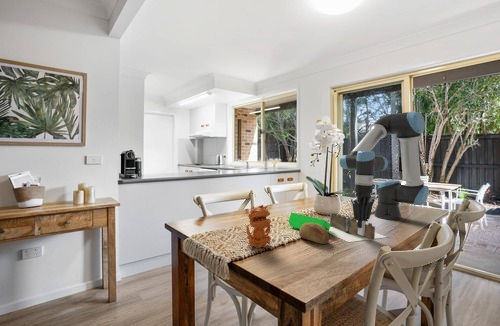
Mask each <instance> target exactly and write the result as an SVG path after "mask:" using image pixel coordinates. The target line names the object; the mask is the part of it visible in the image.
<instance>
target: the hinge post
mask: <svg viewBox="0 0 500 326" xmlns="http://www.w3.org/2000/svg"><path fill="white" fill-rule="evenodd" d="M345 217H346V229H345V233H350V221H351V218H350V217H349V216H345Z"/></svg>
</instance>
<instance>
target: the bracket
mask: <svg viewBox="0 0 500 326" xmlns="http://www.w3.org/2000/svg"><path fill="white" fill-rule="evenodd" d="M305 223H316V224H319V225H321V226H322V227H324V228H325V229H326V230H328V231H329V229H330V226H331V224H330V222H328V221H326V220H325V219H323V218H318V217H313V216H309V215H305V214H299V213H296V212H291V213H290V215H289V218H288V225H289V226H290V227H292V228H295V229H297V228H298V230H300V228H301V226H302V225H303V224H305Z"/></svg>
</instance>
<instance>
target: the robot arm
mask: <svg viewBox="0 0 500 326" xmlns="http://www.w3.org/2000/svg"><path fill="white" fill-rule="evenodd" d="M425 129H426V122H425V118H424V116H423V115H422V114H421V112H418V111H408V112H399V113H389V114H386V115H384V116H382V117H380V118H379V119H378V120H376V121H374V123H373V124H372V125H371V126H370V127H369V130H368V132H367V133H366V134H365V136H363V138H362V139H361V140H360V141H359V142H358V144H357V145H356V146H355V147H354V148H353V149H352V150H351V152H350V153H349V154H343V155H342V156H340V158H339V166H340V168H342V169H345V170H350V171H351V170H352V171H353V170H354V171H355V177H354V179H355V181H354V182H355V184H354V192H355V196H354V198H353V199H350V202H351V206H352V212H353V213H352V214H353V219H355V220H356V221H357V222H358V224H357V227H358V234H359V235H362V236H363V235H364V231H365V224H367V223H366V222H369V220H370V218H371V213H372V210H373V205H374V204H375V201H376V199H375V198H372V195H371V194H373V191H374V190H373V189H374V186H373V184H374V173H375V172H383V171H385V170H386V169H387V168H388V165H389V162H388V160H387V158H386V157H385V156H383V155H376V154H375V151H372V150H373V149H374V148H375V147H376V145H377V144H378V143H379V142H380V140H381V139H384V138H385V137H386V136H387V135H388V136H389V135H396V139H397V140H399V146H400V157H401V170H402V180H401V181H400V180H382V181H379V182H378V187H377V191H378V192H377V205H376V208H375V210H374V217H376V218H379V219H383V220H390V221H391V220H392V221H396V220H398V221H399V220H401V219H402V213H401V209H400V207H399V206H400V204H399V203H401V204H409V205H413V206H423V205H424V204H426V202H427V200H428V197H429V193H430V192H429V191H430V189H429V186H427V185H425V183H424V182H425V181H424V180H422V179H421V169H420V168H421V165H420V153H419V152H420V151H419V138H420V137H421V136H422V133H424V131H425Z"/></svg>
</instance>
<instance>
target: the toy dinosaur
mask: <svg viewBox="0 0 500 326" xmlns="http://www.w3.org/2000/svg"><path fill="white" fill-rule="evenodd" d="M270 215H271V212H270V211H269V209H268V205H266V206H264V205H263V204H261V205H259V206H255V205H253V207H252V208H251V209H250V211H249V213H248V215H247V217H248V219H249V220H248V222H249V225H250V226H251V228H253V231H252V234H251V231H250V228H249V225H246V227H245V228H246V234H247V236H246V239H248V245H249V246H251V247H252V246H254V247H259V248H258V249H261V248H260V247H264V248H266V247H267V245H270V244H271V241H272V240H271V239H272V238H271V235H270V233H271V222H272V221H271V220H270V219H269V218H267V217H269V216H270ZM254 247H253V248H254Z"/></svg>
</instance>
